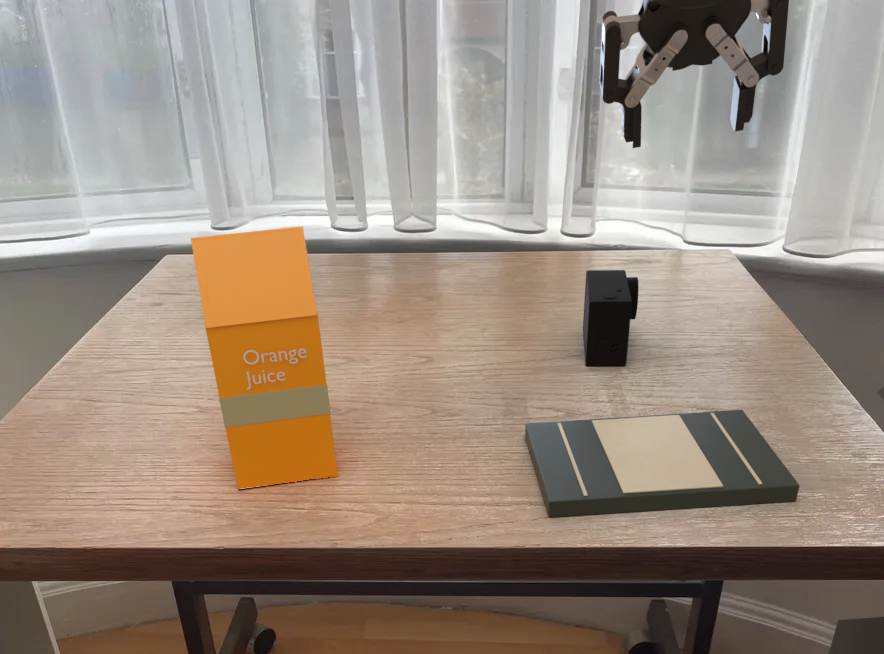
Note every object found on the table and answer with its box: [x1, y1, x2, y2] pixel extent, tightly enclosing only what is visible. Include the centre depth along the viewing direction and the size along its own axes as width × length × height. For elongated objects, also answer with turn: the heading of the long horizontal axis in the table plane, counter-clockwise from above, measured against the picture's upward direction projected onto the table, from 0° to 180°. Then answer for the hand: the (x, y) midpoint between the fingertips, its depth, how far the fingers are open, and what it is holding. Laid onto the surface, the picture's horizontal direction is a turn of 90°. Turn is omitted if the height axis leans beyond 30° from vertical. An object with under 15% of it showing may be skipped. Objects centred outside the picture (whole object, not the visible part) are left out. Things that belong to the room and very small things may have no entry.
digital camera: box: [582, 269, 639, 367], centre depth 97 cm, size 10×5×7 cm, turn 174°
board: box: [524, 409, 800, 518], centre depth 77 cm, size 20×14×2 cm
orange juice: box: [190, 225, 339, 489], centre depth 75 cm, size 8×9×20 cm
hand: (685, 134), depth 77 cm, fingers open, 8 cm apart
